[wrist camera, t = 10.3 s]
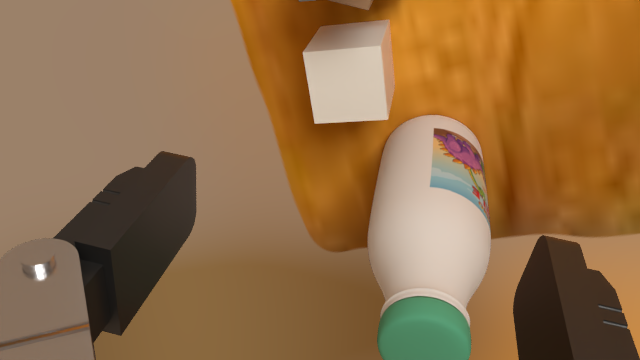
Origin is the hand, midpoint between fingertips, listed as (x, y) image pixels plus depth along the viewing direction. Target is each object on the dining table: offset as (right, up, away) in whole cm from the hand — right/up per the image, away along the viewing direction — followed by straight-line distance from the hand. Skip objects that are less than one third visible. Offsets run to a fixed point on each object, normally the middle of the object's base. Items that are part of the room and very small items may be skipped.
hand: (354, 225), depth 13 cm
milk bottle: (+8, +3, +31) cm, 32 cm away
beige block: (+2, +10, +28) cm, 29 cm away
